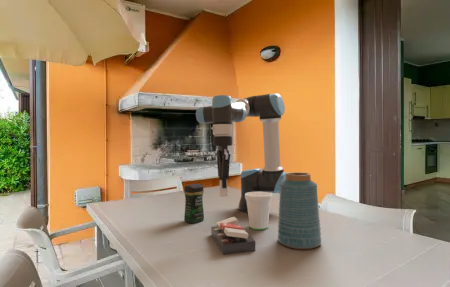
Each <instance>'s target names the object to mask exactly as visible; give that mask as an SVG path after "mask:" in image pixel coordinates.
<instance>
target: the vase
mask: <svg viewBox="0 0 450 287" xmlns="http://www.w3.org/2000/svg"><path fill="white" fill-rule="evenodd" d="M318 195H319V194H318V184H317V183H316V182H314V181H313V180H312V179H311V173H308V172H303V171H302V172H295V171H294V172H293V171H292V172H286V180H284V181H283V182H281V183H280V193H279V199H278V200H279V203H278V204H279V205H278V222H277V223H278V225H277V240H278V242H279V243H280V244H282V245H283V246H285V247H287V248H290V249H294V250H303V251H304V250H312V249H315V248H317V247H319V246H320V245H321V244H322V232H321V220H320V209H319V196H318Z"/></svg>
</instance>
